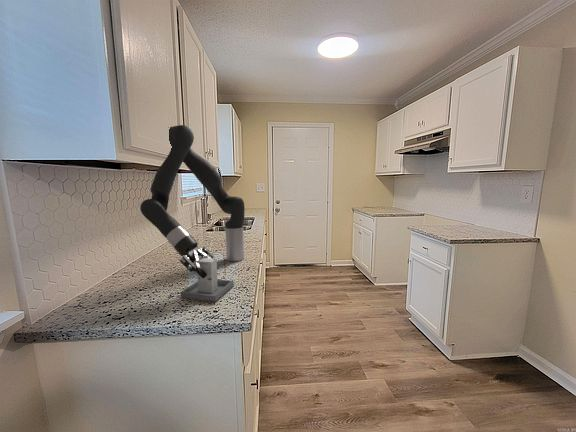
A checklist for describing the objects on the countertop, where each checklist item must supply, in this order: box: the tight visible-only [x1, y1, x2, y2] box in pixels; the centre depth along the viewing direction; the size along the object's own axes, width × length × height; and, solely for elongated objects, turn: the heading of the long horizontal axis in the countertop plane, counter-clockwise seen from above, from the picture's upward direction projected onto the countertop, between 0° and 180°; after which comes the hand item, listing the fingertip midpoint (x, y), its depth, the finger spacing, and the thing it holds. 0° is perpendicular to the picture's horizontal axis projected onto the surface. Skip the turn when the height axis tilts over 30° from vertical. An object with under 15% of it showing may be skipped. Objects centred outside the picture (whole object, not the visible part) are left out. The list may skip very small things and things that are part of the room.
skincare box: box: [197, 258, 218, 293], centre depth 99 cm, size 6×4×12 cm
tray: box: [179, 278, 235, 304], centre depth 99 cm, size 14×14×2 cm
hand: (211, 273), depth 98 cm, fingers open, 7 cm apart
